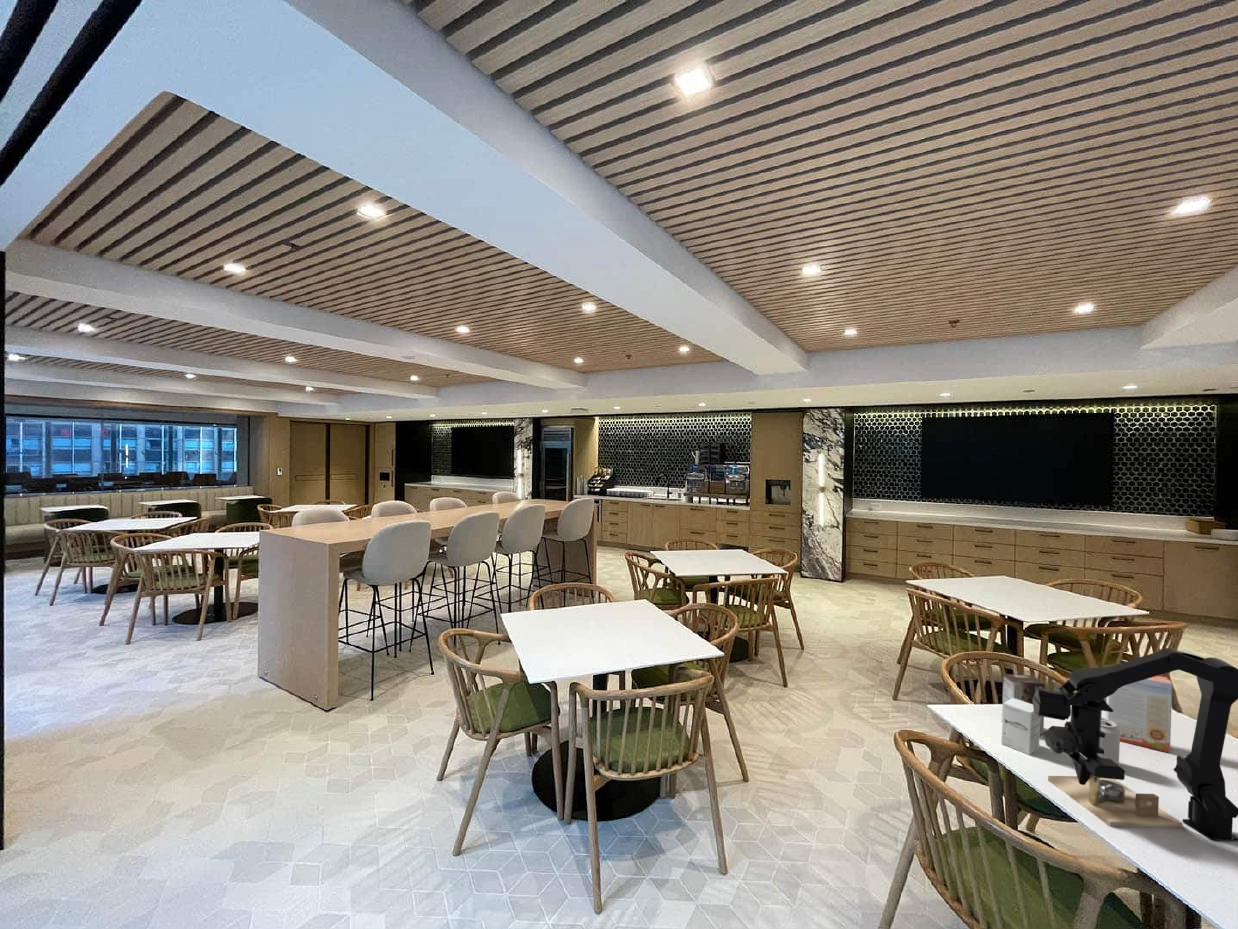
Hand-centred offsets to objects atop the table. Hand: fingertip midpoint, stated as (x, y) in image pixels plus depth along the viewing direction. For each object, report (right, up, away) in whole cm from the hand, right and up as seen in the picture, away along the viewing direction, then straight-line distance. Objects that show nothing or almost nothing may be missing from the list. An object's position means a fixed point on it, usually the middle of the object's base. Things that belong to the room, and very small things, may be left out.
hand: (1081, 784), depth 136 cm
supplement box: (+4, -4, +26) cm, 26 cm away
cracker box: (+42, -5, +30) cm, 52 cm away
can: (+21, -5, +18) cm, 28 cm away
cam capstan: (+4, -3, -1) cm, 5 cm away
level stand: (+7, -4, 0) cm, 8 cm away
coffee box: (+12, -4, +37) cm, 39 cm away
